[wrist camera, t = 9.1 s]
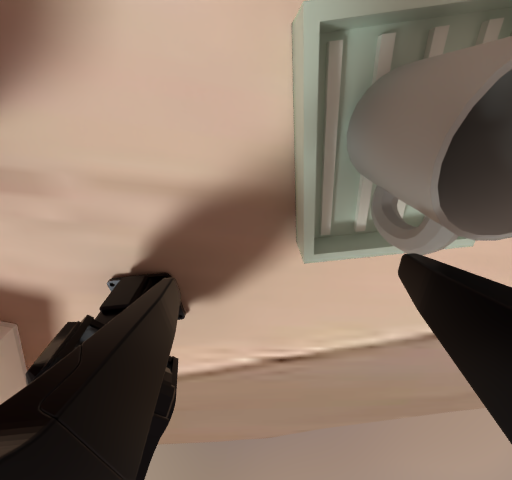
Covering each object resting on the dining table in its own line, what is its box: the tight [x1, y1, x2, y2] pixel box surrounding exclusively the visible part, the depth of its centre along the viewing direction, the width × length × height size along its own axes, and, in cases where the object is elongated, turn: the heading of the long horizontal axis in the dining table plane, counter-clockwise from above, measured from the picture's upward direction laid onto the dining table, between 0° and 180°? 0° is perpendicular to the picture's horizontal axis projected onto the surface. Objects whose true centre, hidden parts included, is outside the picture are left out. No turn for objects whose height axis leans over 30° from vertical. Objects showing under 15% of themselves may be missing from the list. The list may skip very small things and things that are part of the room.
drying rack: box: [292, 0, 512, 264], centre depth 16 cm, size 16×14×4 cm
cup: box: [347, 36, 512, 255], centre depth 12 cm, size 7×10×9 cm
